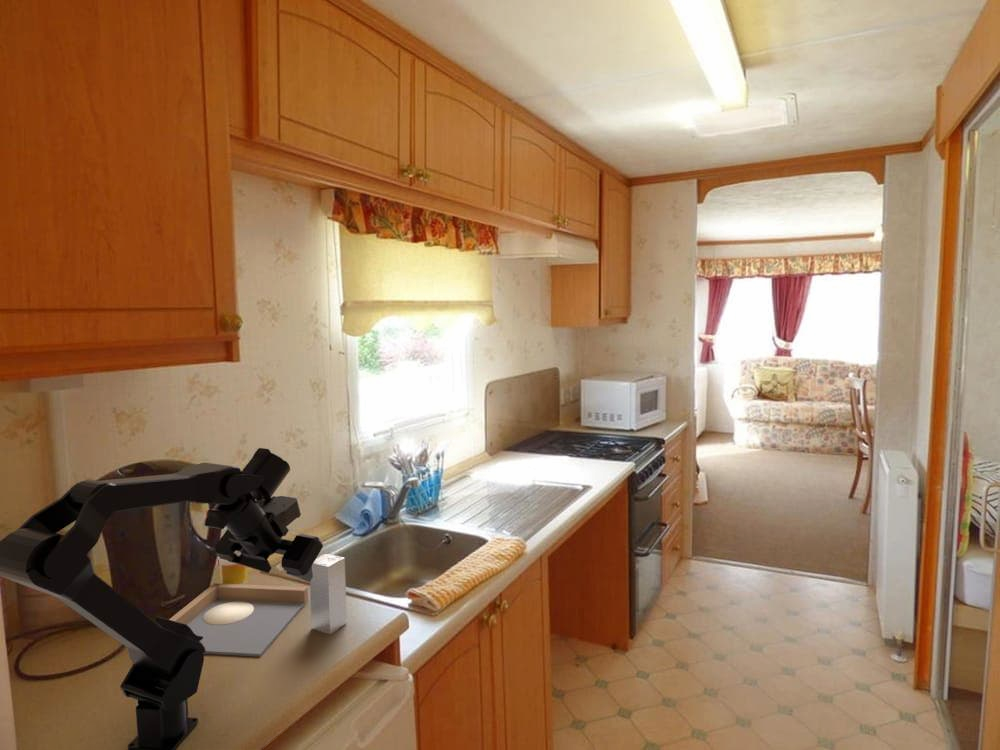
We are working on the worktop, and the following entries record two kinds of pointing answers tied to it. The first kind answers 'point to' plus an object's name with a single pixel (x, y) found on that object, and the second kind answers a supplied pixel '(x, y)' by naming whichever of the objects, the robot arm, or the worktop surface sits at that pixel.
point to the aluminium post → (328, 593)
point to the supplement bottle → (232, 573)
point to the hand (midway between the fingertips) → (289, 574)
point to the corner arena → (241, 616)
